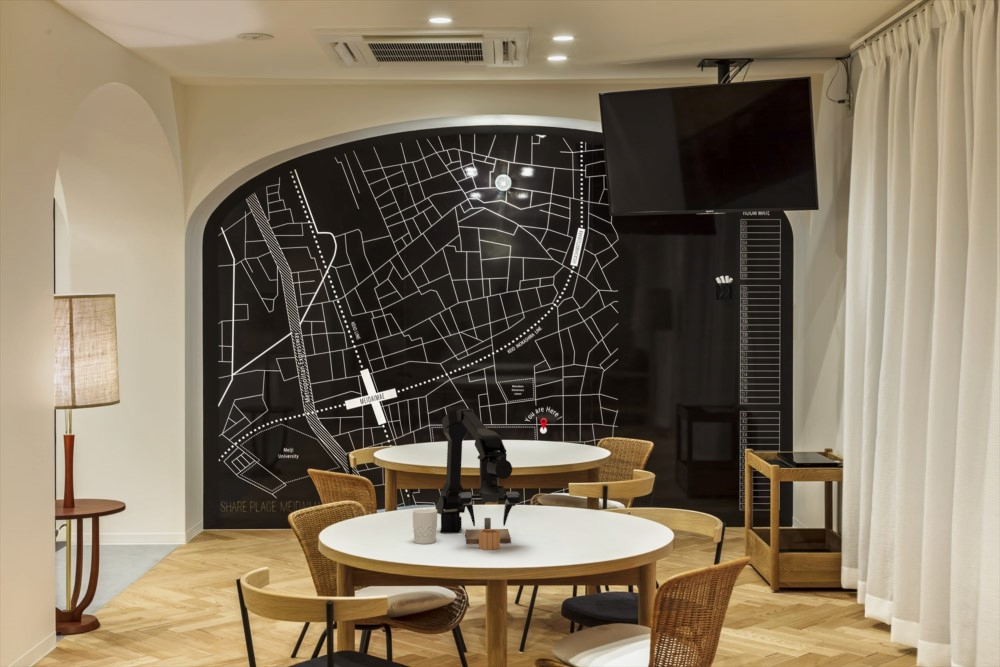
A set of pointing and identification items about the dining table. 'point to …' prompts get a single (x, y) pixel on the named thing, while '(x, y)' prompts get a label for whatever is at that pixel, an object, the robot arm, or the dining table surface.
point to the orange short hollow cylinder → (489, 539)
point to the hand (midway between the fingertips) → (489, 525)
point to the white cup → (425, 525)
